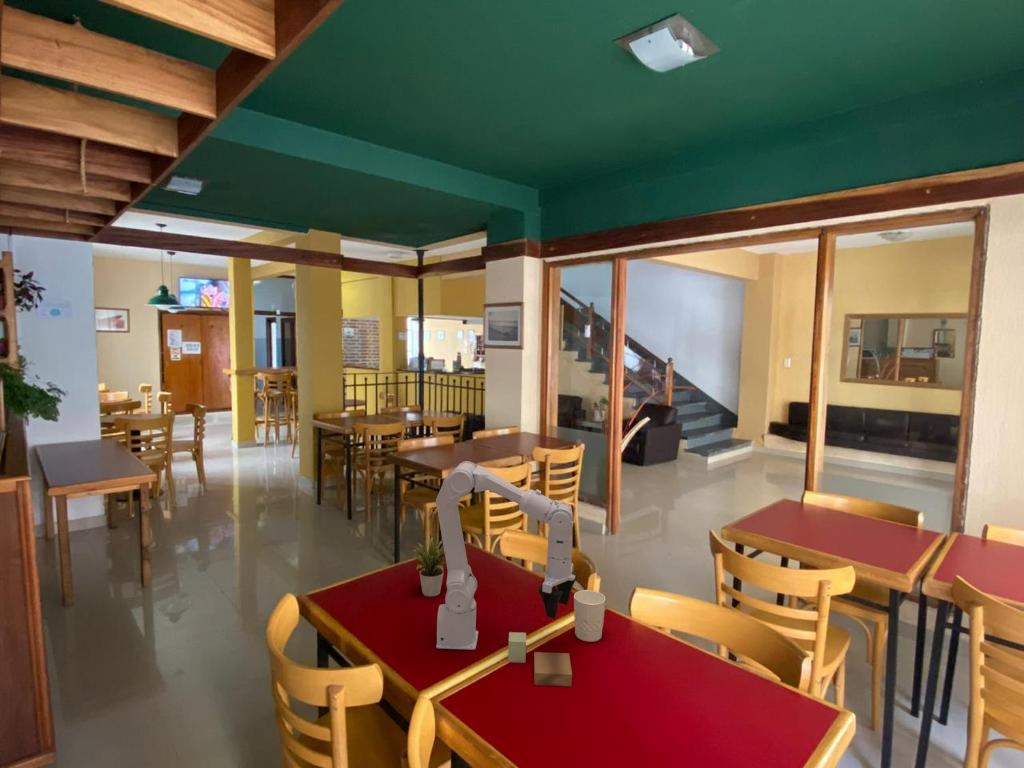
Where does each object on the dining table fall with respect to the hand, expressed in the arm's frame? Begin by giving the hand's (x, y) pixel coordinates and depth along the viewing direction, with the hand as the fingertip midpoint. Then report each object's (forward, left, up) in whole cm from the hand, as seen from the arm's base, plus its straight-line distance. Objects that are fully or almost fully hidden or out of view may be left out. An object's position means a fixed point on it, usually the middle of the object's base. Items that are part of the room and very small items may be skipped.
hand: (557, 610), depth 128 cm
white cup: (+9, +7, -10) cm, 15 cm away
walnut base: (-1, -10, -10) cm, 14 cm away
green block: (-9, -4, -10) cm, 14 cm away
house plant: (-35, +26, -10) cm, 45 cm away
